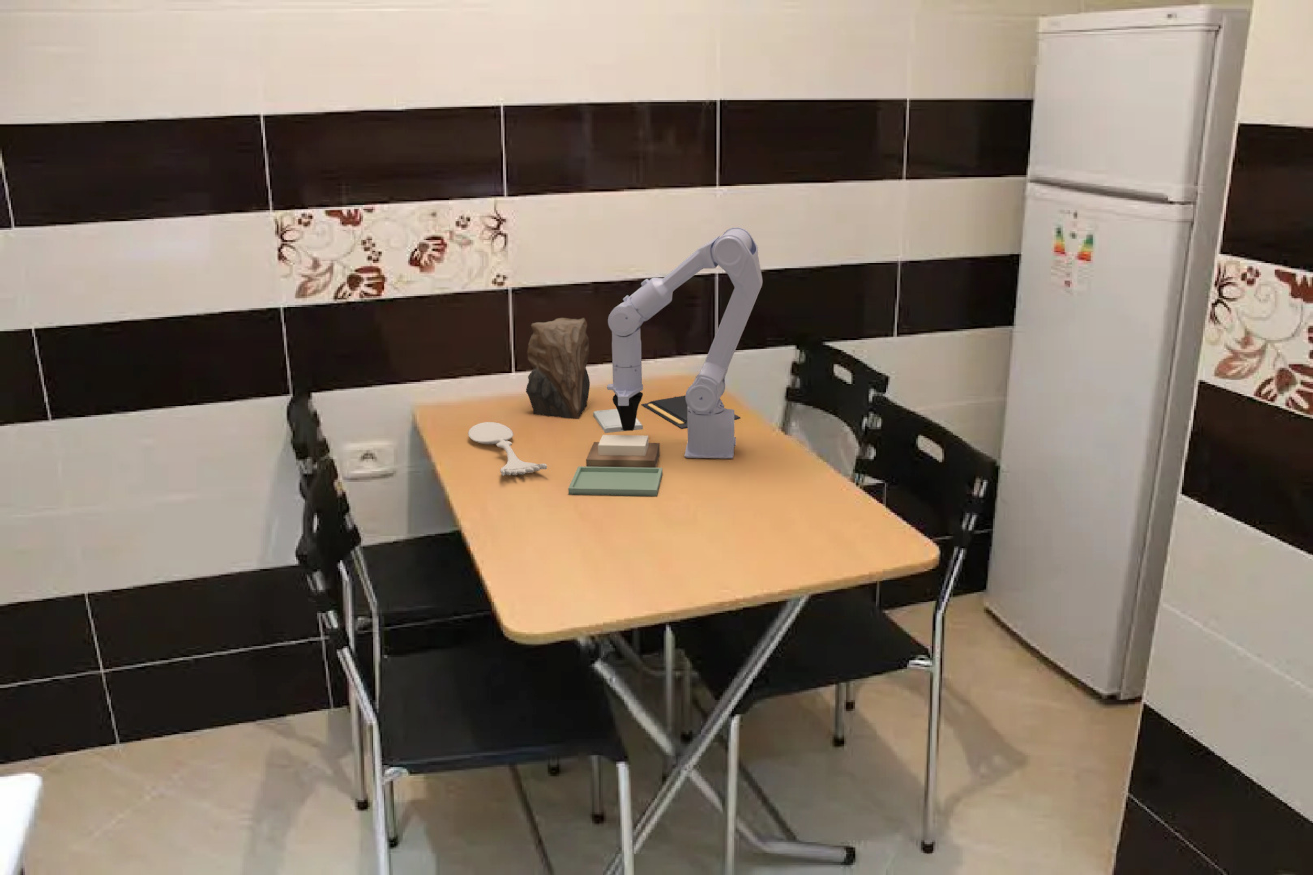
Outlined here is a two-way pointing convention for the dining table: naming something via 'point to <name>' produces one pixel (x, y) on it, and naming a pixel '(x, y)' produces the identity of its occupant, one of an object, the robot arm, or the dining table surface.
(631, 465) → the deck
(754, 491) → the dining table surface
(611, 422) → the hard drive
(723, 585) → the dining table surface
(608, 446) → the tile
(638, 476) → the tray
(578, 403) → the brown rock
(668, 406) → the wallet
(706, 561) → the dining table surface
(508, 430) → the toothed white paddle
